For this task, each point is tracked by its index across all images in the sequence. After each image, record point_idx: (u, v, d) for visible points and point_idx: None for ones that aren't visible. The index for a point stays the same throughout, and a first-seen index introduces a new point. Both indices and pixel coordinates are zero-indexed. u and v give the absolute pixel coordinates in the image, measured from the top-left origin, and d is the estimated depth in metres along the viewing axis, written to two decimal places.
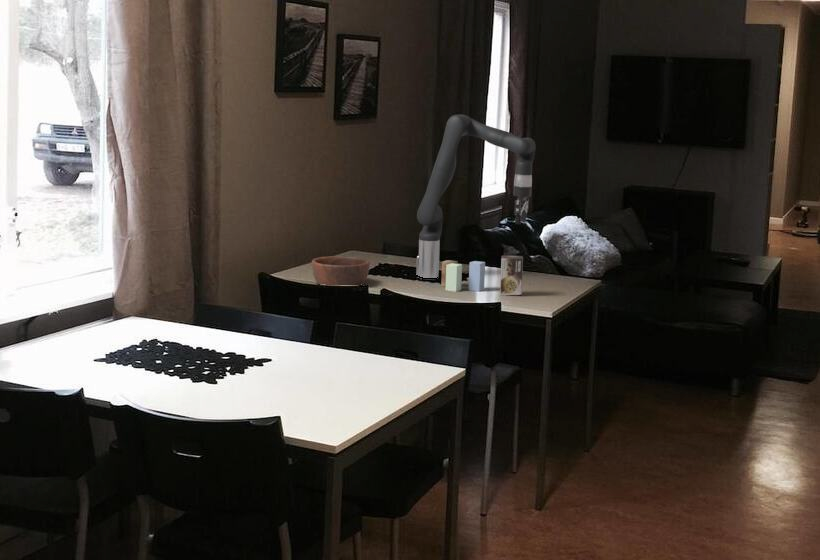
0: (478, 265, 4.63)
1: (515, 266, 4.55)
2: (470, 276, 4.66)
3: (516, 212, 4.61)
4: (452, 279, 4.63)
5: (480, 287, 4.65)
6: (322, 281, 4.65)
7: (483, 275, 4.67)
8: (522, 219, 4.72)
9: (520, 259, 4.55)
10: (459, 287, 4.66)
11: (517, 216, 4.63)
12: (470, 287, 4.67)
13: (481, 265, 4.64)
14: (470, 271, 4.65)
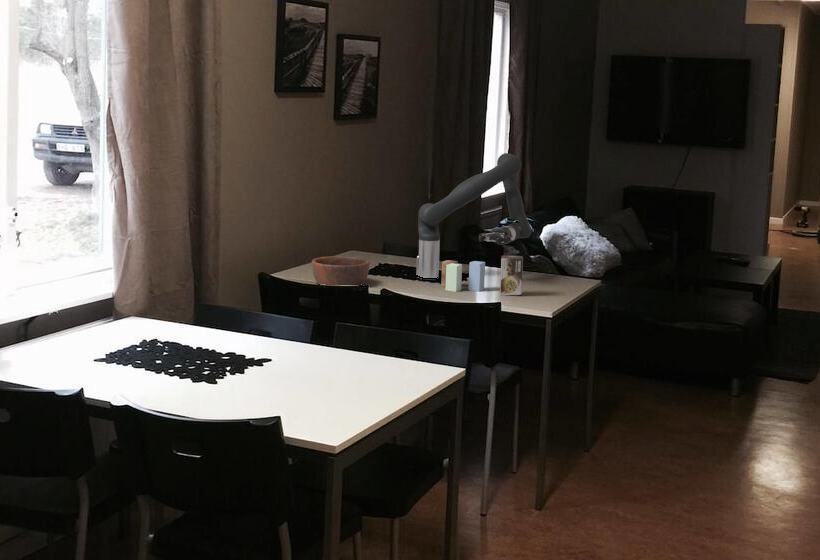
0: (478, 265, 4.63)
1: (515, 266, 4.55)
2: (470, 276, 4.66)
3: (508, 239, 4.75)
4: (452, 279, 4.63)
5: (480, 287, 4.65)
6: (322, 281, 4.65)
7: (483, 275, 4.67)
8: (481, 238, 4.76)
9: (520, 259, 4.55)
10: (459, 287, 4.66)
11: (503, 239, 4.74)
12: (470, 287, 4.67)
13: (481, 265, 4.64)
14: (470, 271, 4.65)
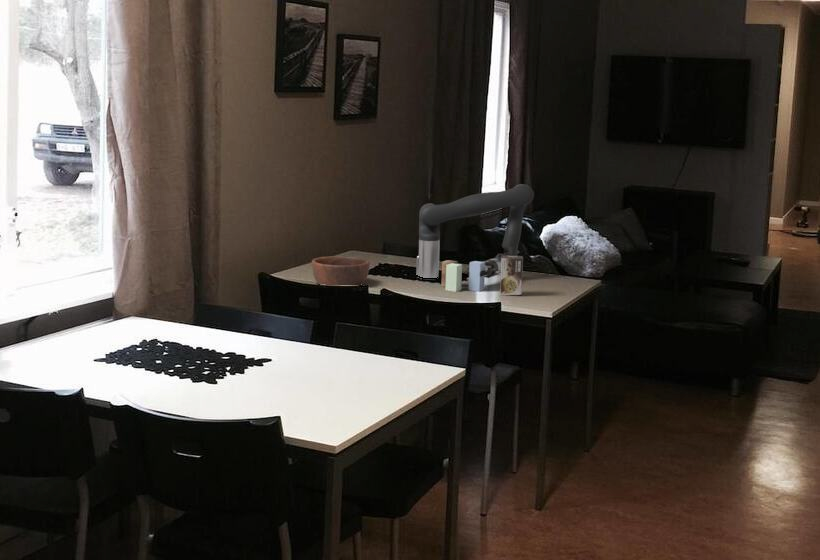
0: (478, 265, 4.63)
1: (515, 266, 4.55)
2: (470, 276, 4.66)
3: (491, 272, 4.66)
4: (452, 279, 4.63)
5: (480, 287, 4.65)
6: (322, 281, 4.65)
7: None
8: None
9: (520, 259, 4.55)
10: (459, 287, 4.66)
11: (485, 273, 4.66)
12: (470, 287, 4.67)
13: (481, 265, 4.64)
14: (470, 271, 4.65)
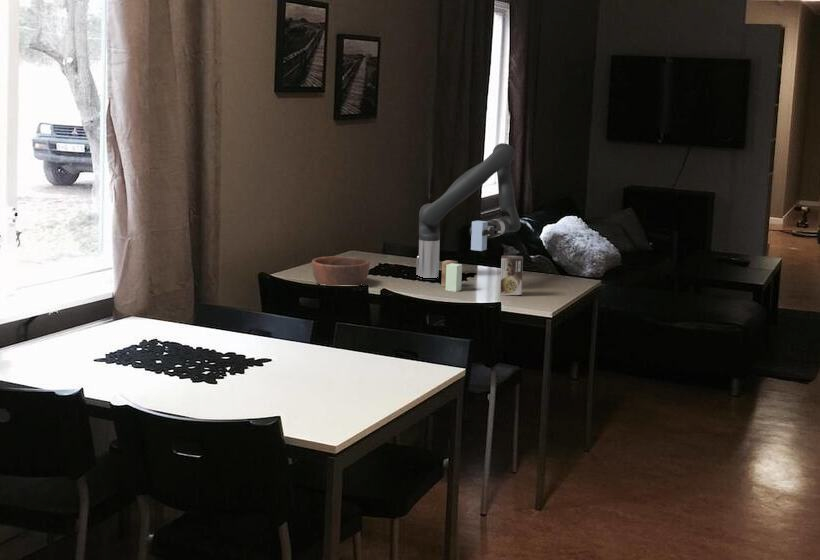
0: (480, 225, 4.61)
1: (515, 266, 4.55)
2: (472, 235, 4.63)
3: (493, 232, 4.64)
4: (452, 279, 4.63)
5: (482, 247, 4.63)
6: (322, 281, 4.65)
7: None
8: None
9: (520, 259, 4.55)
10: (459, 287, 4.66)
11: (488, 232, 4.63)
12: (472, 246, 4.64)
13: (483, 224, 4.62)
14: (472, 230, 4.63)
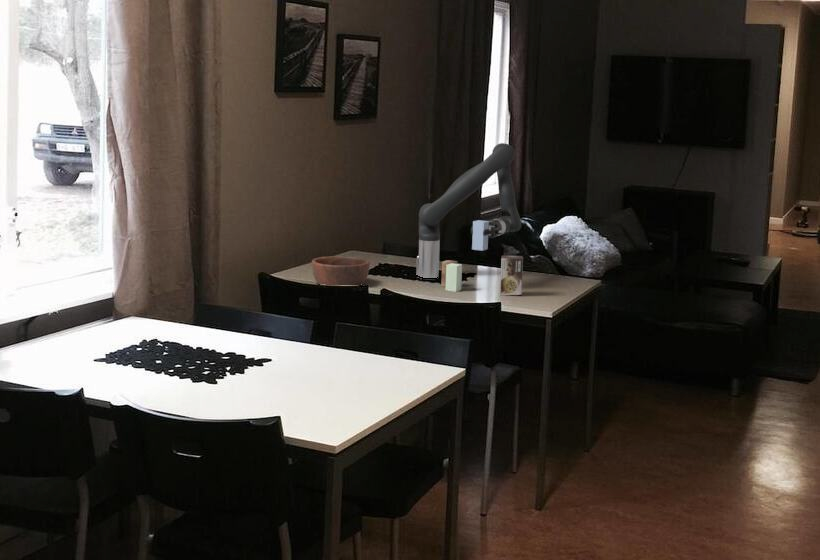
0: (482, 224, 4.62)
1: (515, 266, 4.55)
2: (474, 235, 4.64)
3: (495, 231, 4.65)
4: (452, 279, 4.63)
5: (483, 246, 4.64)
6: (322, 281, 4.65)
7: None
8: None
9: (520, 259, 4.55)
10: (459, 287, 4.66)
11: (489, 232, 4.64)
12: (473, 246, 4.65)
13: (485, 224, 4.62)
14: (474, 230, 4.64)
